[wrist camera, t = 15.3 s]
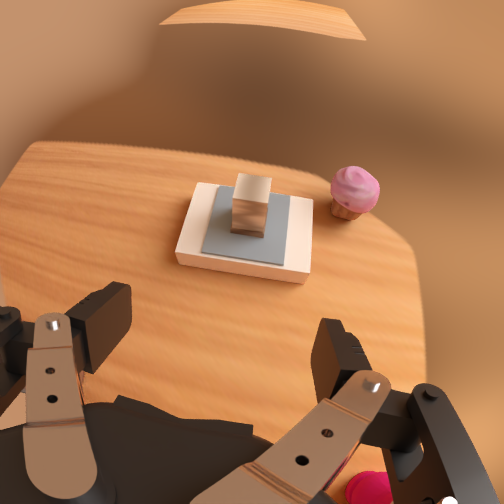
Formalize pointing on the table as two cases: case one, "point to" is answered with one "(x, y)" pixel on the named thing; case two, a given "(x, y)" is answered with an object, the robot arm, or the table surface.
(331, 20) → the table surface
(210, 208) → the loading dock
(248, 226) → the memo note cube
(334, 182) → the cupcake
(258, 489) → the robot arm
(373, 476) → the pepper mill
